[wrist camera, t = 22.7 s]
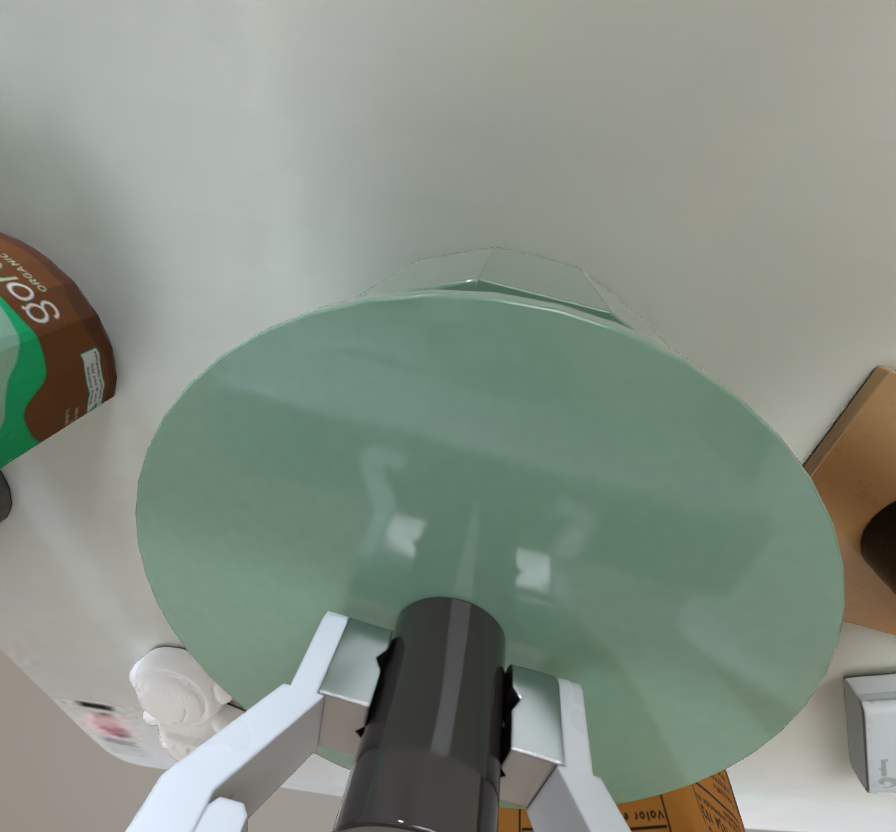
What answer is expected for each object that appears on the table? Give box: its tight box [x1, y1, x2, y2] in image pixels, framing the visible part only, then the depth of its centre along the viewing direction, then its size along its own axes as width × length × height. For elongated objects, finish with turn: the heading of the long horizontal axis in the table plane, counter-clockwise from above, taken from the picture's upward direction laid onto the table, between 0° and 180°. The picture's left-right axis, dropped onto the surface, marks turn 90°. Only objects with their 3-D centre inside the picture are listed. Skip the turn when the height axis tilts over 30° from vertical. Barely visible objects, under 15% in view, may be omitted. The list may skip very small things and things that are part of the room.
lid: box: [136, 289, 845, 832], centre depth 9 cm, size 16×16×5 cm
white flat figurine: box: [129, 647, 245, 761], centre depth 32 cm, size 9×12×3 cm
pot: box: [354, 247, 671, 349], centre depth 16 cm, size 15×15×7 cm
